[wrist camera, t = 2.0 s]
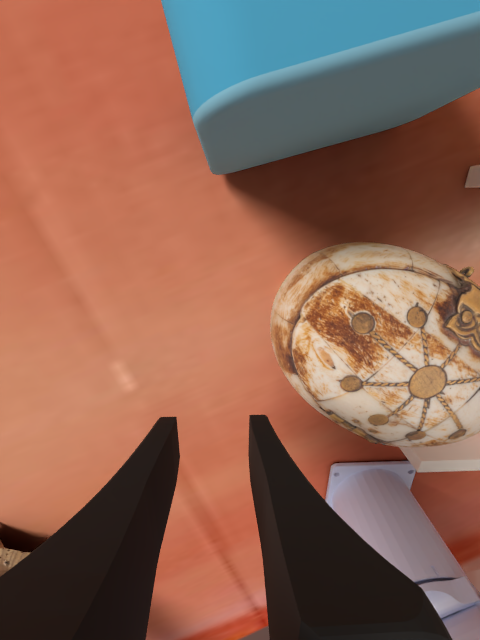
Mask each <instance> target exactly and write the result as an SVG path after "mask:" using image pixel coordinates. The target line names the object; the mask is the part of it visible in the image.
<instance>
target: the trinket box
mask: <svg viewBox="0 0 480 640" xmlns="http://www.w3.org/2000/svg"><path fill="white" fill-rule="evenodd" d="M473 272H474V269H473V268H472V267H466V268H463V269H462V270H461V271H460V272H459V271H457V270H455V269H454V268H452V267H450V266H448V265H446V264H444V265H442V264H441V263H439V262H437V261H435V260H434V259H432V258H430V257H428V256H425V255H423V254H421V253H418V252H415V251H413V250H410V249H406V248H402V247H398V246H394V245H388V244H382V243H373V242H353V243H344V244H339V245H334V246H330V247H327V248H324V249H321V250H319V251H317V252H315V253H313V254H311V255H309V256H308V257H306V258H305V259H303V260H302V261H301V262H300V263H299V264H298V265H297V266H296V267H295V268H294V269H293V270H292V271H291V272H290V273H289V274H288V276H287V277H286V279H285V280H284V282H283V283H282V285H281V286H280V288H279V290H278V292H277V294H276V297H275V299H274V302H273V306H272V312H271V323H270V328H271V329H270V331H271V341H272V345H273V349H274V353H275V356H276V358H277V361H278V363H279V365H280V367H281V369H282V371H283V373H284V374H285V376H286V377H287V379H288V380H289V382H290V383H291V385H292V386H293V387H294V388H295V390H296V391H297V392H298V393H299V394H300V395H301V397H302V398H303V399H304V400H306V401H307V402H308V403H309V404H310V405H311V406H312V407H313V408H315V409H316V410H317V411H319V412H320V413H321V414H323V415H324V416H326V417H327V418H329V419H330V420H332V421H333V422H335V423H337V424H338V425H340V426H342V427H343V428H345V429H347V430H349V431H351V432H353V433H355V434H357V435H359V436H361V437H364V438H365V439H367V440H368V441H369V442H371V443H375V444H377V443H381V444H383V445H389V446H397V447H432V446H441V445H446V444H451V443H455V442H458V441H462V440H464V439H467V438H469V437H471V436H474V435H475V434H477V433H479V432H480V287H479V286H478V285H477V284H475V283H474V282H473V281H471V280H470V279H469V278H468V277H470V276H471V275H472V273H473ZM464 273H465V274H464Z"/></svg>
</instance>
